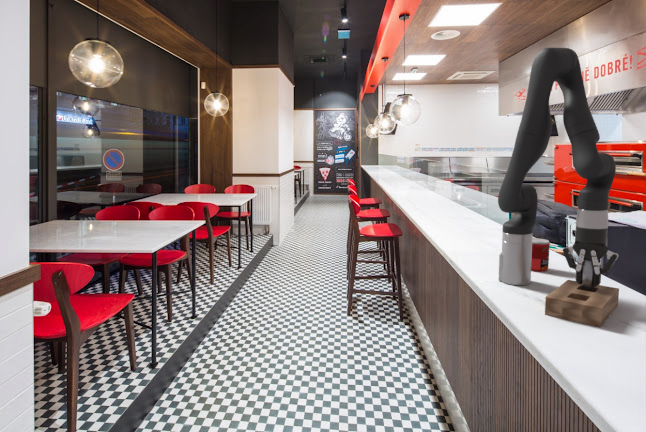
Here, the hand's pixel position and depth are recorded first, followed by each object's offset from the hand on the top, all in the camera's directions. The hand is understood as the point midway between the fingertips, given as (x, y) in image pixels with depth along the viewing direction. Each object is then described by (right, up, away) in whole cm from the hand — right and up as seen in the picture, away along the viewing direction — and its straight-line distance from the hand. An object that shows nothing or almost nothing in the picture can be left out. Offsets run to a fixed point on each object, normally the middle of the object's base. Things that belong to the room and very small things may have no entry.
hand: (587, 284), depth 120 cm
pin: (0, -3, 0) cm, 3 cm away
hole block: (-3, -7, -2) cm, 8 cm away
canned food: (+5, -1, +38) cm, 38 cm away
